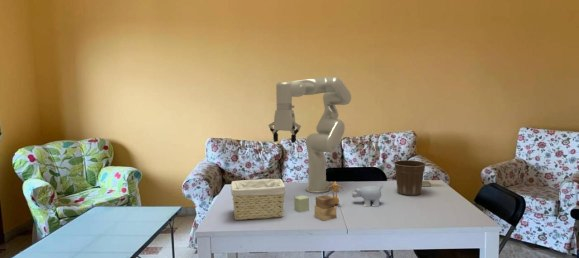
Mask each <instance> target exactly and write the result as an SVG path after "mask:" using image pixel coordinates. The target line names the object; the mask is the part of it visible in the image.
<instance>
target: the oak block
mask: <svg viewBox="0 0 579 258" xmlns="http://www.w3.org/2000/svg"><path fill="white" fill-rule="evenodd" d="M314 217H315V218H318V219H319V220H321V221H327V220H332V219H336V218H337V206H335V207H332V208H327V209H321V208H319V207H318V206H316V204H315V205H314Z"/></svg>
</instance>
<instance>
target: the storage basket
mask: <svg viewBox="0 0 579 258" xmlns="http://www.w3.org/2000/svg"><path fill="white" fill-rule="evenodd" d="M285 190H286V186H285V184H284V181H283V180H282V179H281V178H262V179H245V180H244V179H242V180H234V181H233V180H232V181H231V183H230V191H231V193H230V194H231V197H232V202H233V213H234V220H236V221H244V220H254V219H271V218H283V217H284V216H283V215H284V214H283V211H284V201H285V200H284V199H285V194H286V191H285Z"/></svg>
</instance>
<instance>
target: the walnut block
mask: <svg viewBox="0 0 579 258" xmlns="http://www.w3.org/2000/svg"><path fill="white" fill-rule="evenodd" d="M315 205H316V206H318V207H319V208H321V209H327V208H332V207H336V205H335V200H334V198H333V196H330V195H328V194H324V195H318V196H315Z"/></svg>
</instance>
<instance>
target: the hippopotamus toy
mask: <svg viewBox="0 0 579 258" xmlns="http://www.w3.org/2000/svg"><path fill="white" fill-rule="evenodd" d="M383 186H384V184H381V185H380V186H379V187H378V186H375V185H374V186H373V185H365V186H362V187H361V188H360V187H359V186H358V187H357V188H356V189H355V190H354V191H353V190H352V193H351V195H352V198H354V199H356V198H362V202H364V203H363V207H371V206H372V207H376V208H377V207H380V199H381V198H382V188H383ZM371 202H372V203H371Z"/></svg>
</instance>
